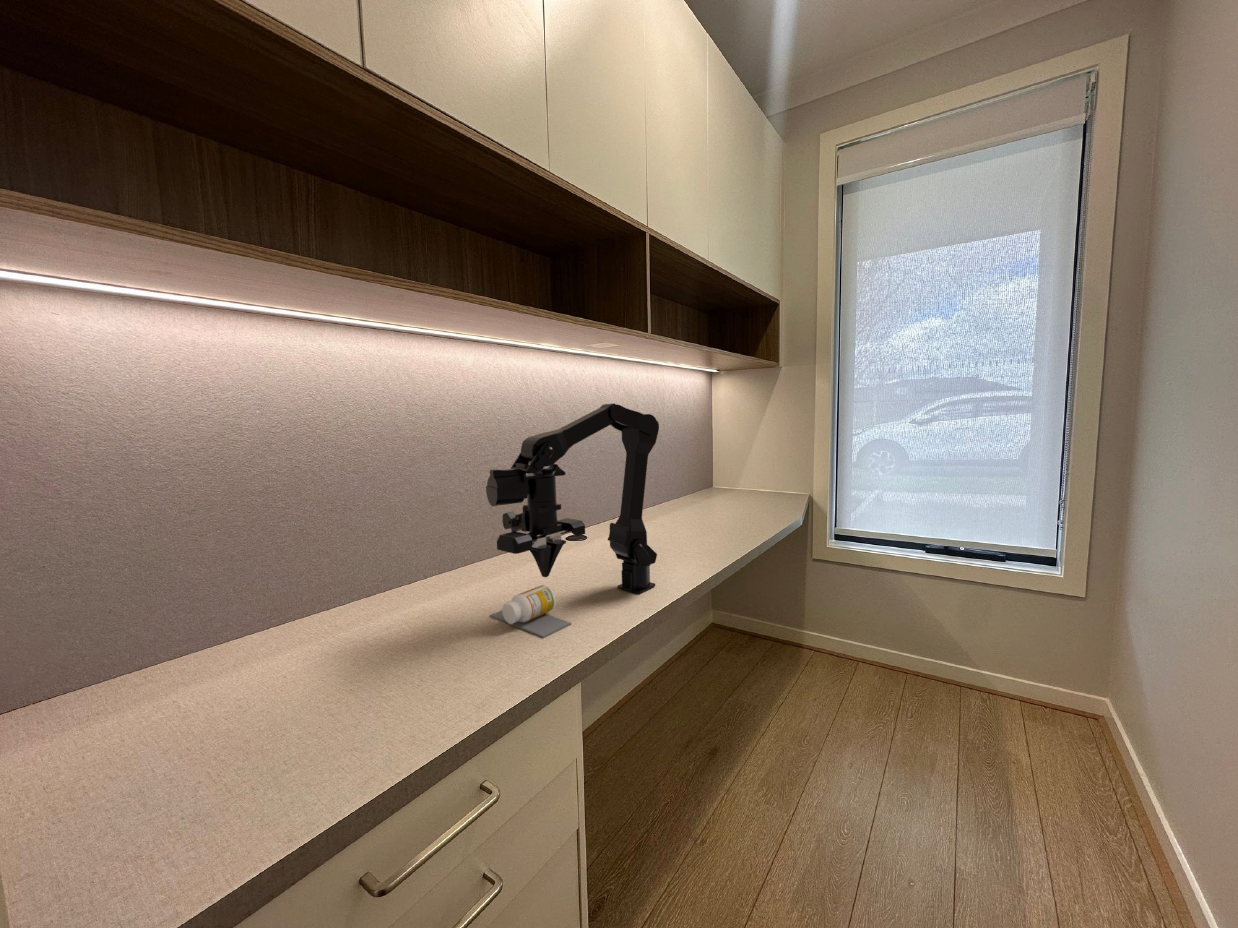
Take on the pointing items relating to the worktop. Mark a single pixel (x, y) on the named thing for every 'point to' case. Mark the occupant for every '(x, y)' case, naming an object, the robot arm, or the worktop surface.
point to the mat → (537, 624)
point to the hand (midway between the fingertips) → (545, 576)
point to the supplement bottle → (529, 604)
